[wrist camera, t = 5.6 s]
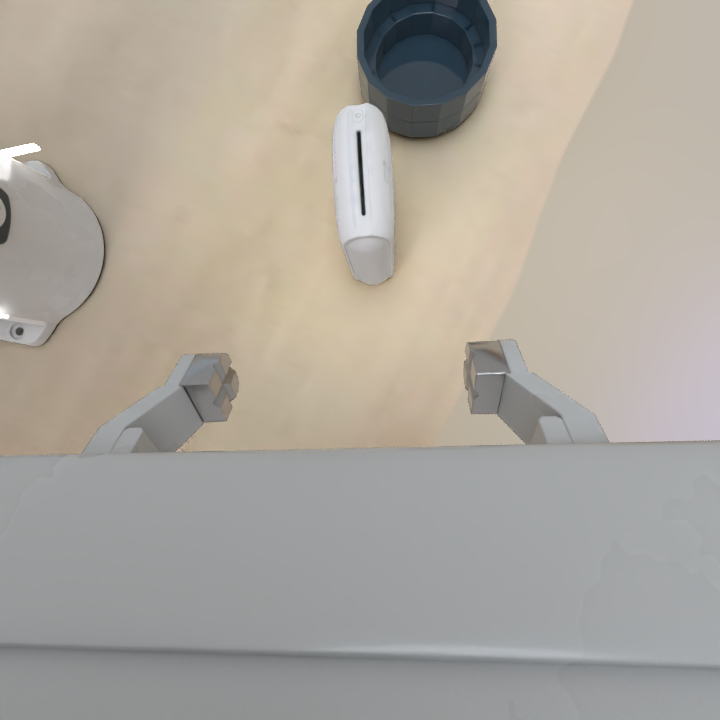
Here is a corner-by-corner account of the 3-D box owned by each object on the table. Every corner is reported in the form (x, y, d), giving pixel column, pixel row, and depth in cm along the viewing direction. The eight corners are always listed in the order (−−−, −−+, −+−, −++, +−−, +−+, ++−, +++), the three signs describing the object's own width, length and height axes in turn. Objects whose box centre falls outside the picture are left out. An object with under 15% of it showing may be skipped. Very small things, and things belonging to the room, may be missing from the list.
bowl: (362, 144, 38) (357, 109, 33) (361, 29, 39) (356, -22, 34) (484, 137, 37) (498, 100, 32) (481, 19, 38) (495, -35, 33)
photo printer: (345, 182, 38) (322, 89, 26) (390, 178, 38) (388, 81, 26) (351, 287, 38) (331, 243, 25) (396, 284, 37) (398, 238, 25)
